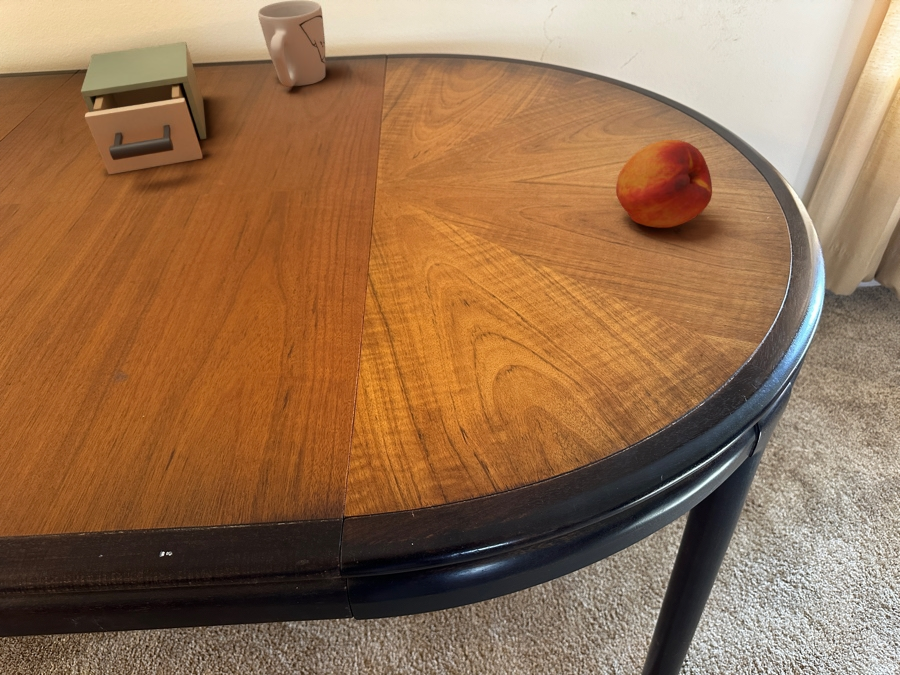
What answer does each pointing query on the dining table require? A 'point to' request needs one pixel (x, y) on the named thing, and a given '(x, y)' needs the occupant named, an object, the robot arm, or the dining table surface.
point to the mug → (295, 40)
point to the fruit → (665, 184)
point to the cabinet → (145, 75)
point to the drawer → (144, 128)
